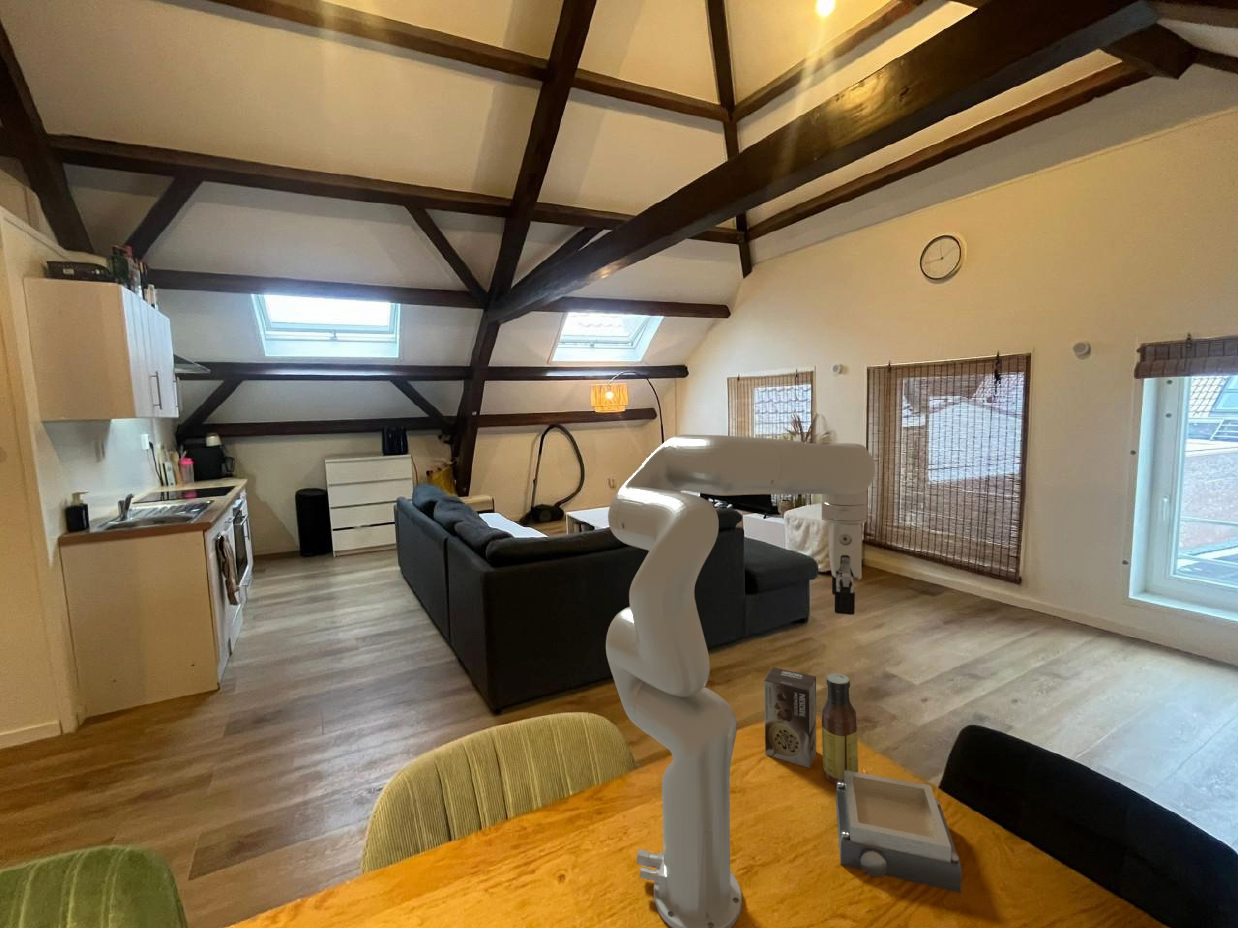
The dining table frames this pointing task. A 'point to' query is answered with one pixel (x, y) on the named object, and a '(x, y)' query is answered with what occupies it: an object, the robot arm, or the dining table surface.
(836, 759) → the sauce bottle
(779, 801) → the dining table surface
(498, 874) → the dining table surface
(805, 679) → the coffee box
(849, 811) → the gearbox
